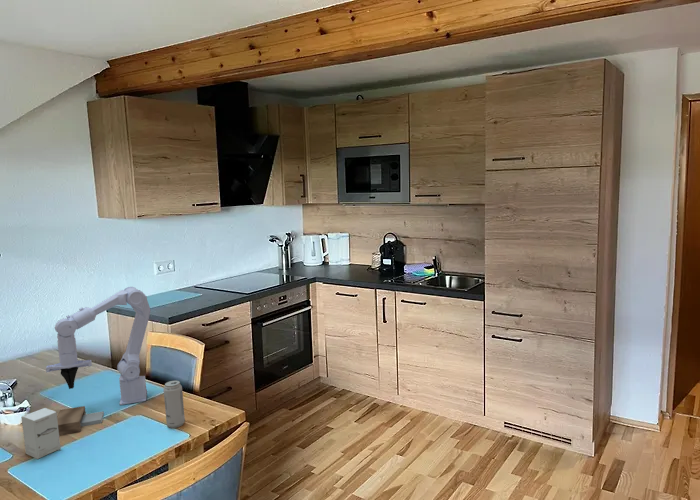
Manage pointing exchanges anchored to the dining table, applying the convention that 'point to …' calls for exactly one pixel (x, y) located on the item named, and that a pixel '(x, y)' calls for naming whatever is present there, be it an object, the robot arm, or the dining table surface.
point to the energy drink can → (174, 404)
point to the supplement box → (41, 432)
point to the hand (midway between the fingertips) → (71, 387)
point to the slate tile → (92, 419)
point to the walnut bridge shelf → (70, 420)
